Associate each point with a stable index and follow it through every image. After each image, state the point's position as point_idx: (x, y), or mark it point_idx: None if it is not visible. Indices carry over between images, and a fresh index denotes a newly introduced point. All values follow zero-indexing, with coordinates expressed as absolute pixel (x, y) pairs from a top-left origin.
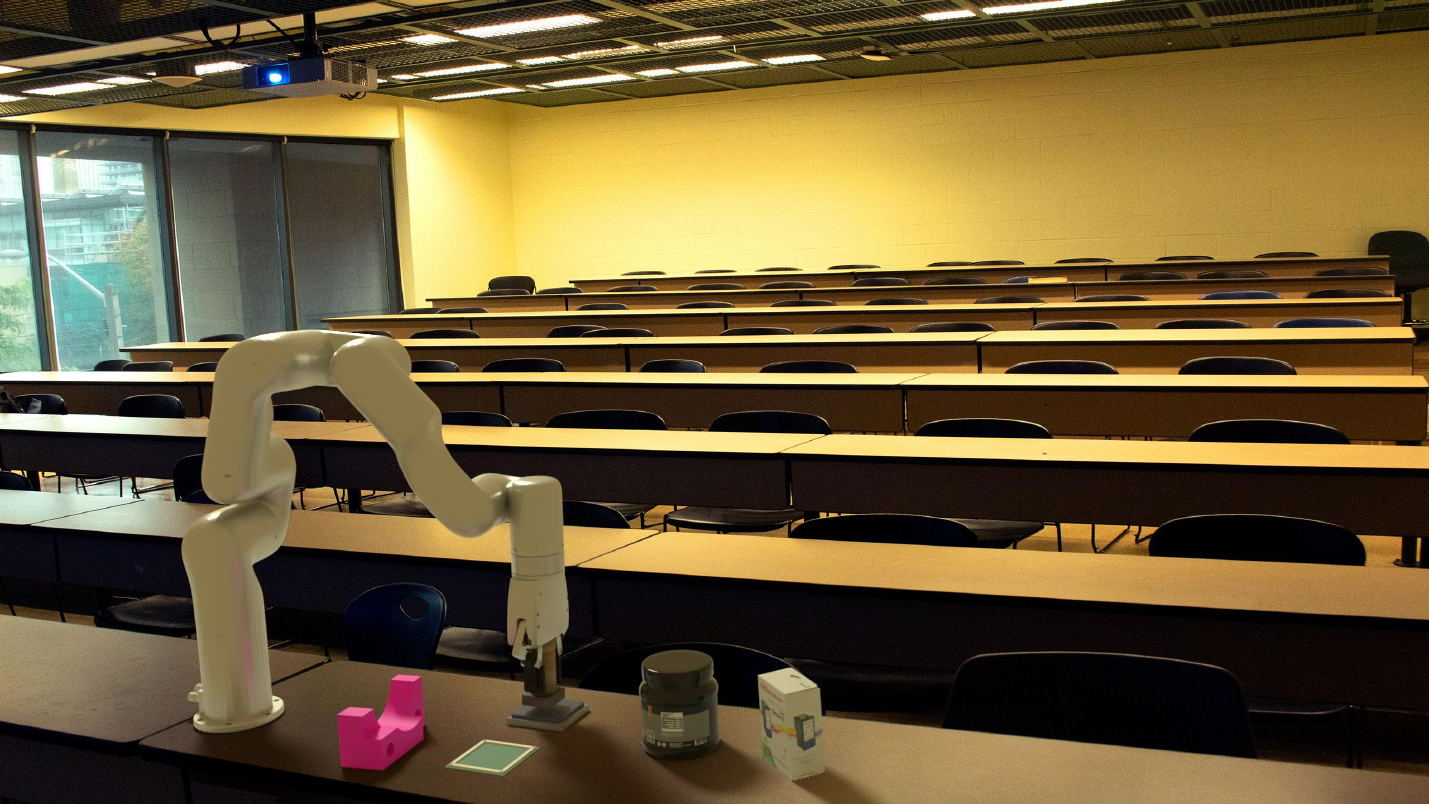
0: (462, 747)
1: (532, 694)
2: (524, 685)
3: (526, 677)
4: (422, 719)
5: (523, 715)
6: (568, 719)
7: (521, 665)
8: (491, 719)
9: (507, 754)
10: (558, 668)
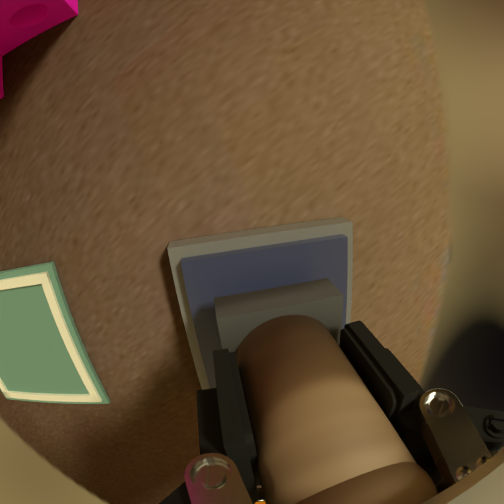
0: (9, 234)
1: (236, 351)
2: (214, 366)
3: (199, 423)
4: (60, 11)
5: (190, 307)
6: None
7: (190, 461)
8: (184, 159)
9: (44, 367)
10: None
